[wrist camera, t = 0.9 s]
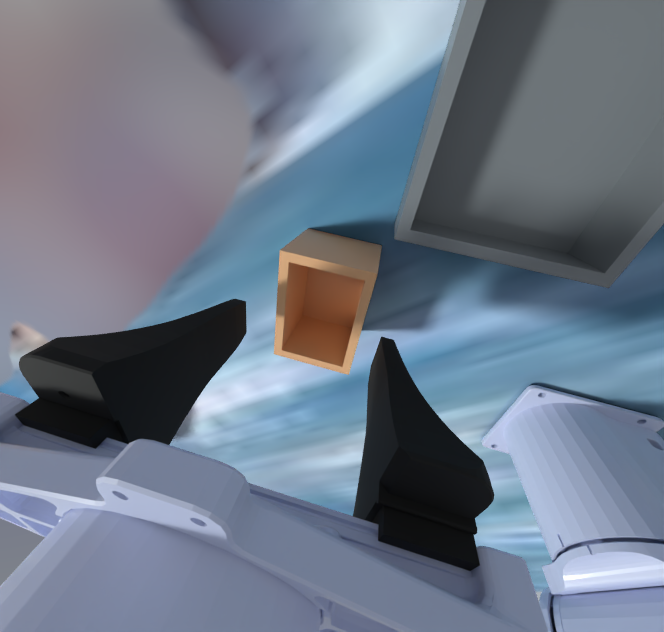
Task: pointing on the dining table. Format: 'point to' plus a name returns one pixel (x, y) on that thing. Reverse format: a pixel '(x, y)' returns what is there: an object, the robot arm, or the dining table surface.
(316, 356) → the small crate
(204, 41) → the dining table surface
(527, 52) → the big crate
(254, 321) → the dining table surface
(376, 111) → the dining table surface
